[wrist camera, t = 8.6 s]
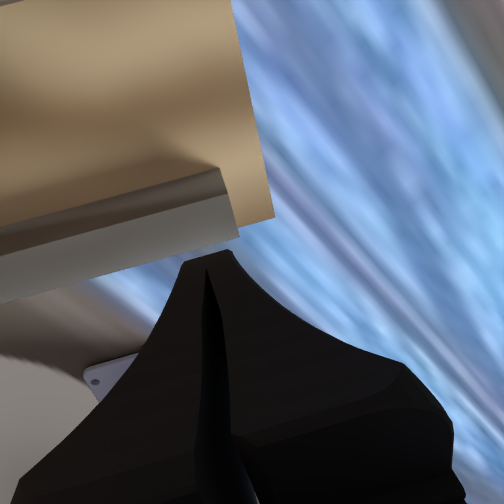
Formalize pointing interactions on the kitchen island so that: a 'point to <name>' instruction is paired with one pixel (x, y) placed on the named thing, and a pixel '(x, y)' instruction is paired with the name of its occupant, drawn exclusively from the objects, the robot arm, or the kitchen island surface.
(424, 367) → the kitchen island surface
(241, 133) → the chute board
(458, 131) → the kitchen island surface
